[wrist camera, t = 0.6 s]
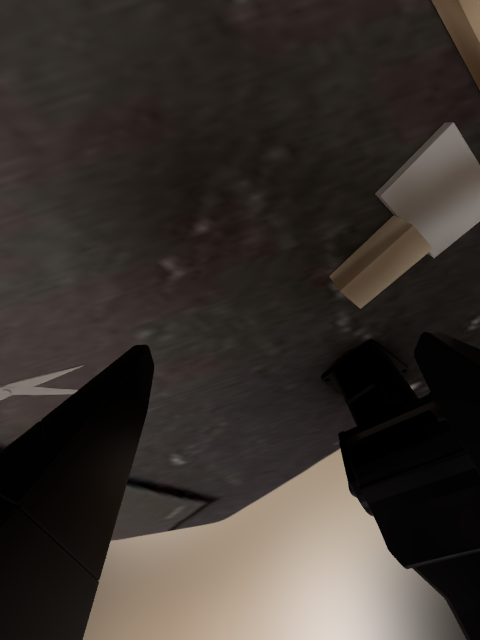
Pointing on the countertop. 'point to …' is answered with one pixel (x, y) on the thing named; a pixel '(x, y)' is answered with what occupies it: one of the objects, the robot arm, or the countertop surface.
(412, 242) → the turner
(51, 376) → the scissors
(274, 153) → the countertop surface
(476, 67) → the oak board
